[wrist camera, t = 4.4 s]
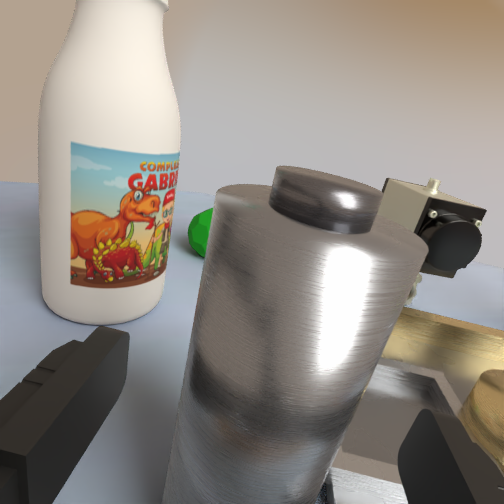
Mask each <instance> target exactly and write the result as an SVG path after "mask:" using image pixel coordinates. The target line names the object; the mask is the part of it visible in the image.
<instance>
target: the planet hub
mask: <svg viewBox="0 0 504 504" xmlns="http://www.w3.org/2000/svg"><path fill="white" fill-rule="evenodd" d="M383 196H384V193H382V192H381V191H379V190H377V189H375V188H373V187H371V186H368V185H365V184H362V183H359V182H356V181H353V180H350V179H347V178H343V177H340V176H336V175H332V174H328V173H324V172H320V171H315V170H310V169H305V168H299V167H292V166H278V167H277V168H276V172H275V176H274V180H273V185H272V186H266V185H253V184H239V185H238V184H237V185H230V186H225V187H222V188H220V189H219V190H218V191H217V192H216V197H215V202H214V208H213V214H212V219H211V225H210V231H209V237H208V242H207V248H206V254H205V259H204V265H203V271H202V276H201V282H200V288H199V294H198V299H197V305H196V311H195V316H194V322H193V328H192V333H191V339H190V345H189V351H188V356H187V362H186V368H185V373H184V379H183V385H182V390H181V396H180V402H179V408H178V413H177V419H176V425H175V430H174V436H173V442H172V447H171V453H170V459H169V465H168V470H167V476H166V482H165V487H164V493H163V499H162V504H314V503H315V501H316V499H317V497H318V494H319V492H320V490H321V488H322V486H323V483H324V481H325V479H326V477H327V474H328V472H329V470H330V468H331V466H332V463H333V461H334V459H335V457H336V455H337V452H338V450H339V448H340V446H341V443H342V441H343V439H344V437H345V435H346V432H347V430H348V428H349V426H350V424H351V421H352V419H353V417H354V415H355V413H356V410H357V408H358V406H359V404H360V401H361V399H362V397H363V395H364V393H365V390H366V388H367V386H368V384H369V382H370V379H371V377H372V375H373V373H374V370H375V368H376V366H377V364H378V362H379V359H380V357H381V355H382V353H383V351H384V348H385V346H386V344H387V342H388V340H389V337H390V335H391V333H392V331H393V328H394V326H395V324H396V322H397V320H398V317H399V315H400V313H401V311H402V309H403V306H404V304H405V302H406V300H407V297H408V295H409V293H410V291H411V289H412V286H413V284H414V282H415V280H416V278H417V275H418V273H419V271H420V269H421V267H422V264H423V262H424V260H425V258H426V255H427V253H428V251H429V250H428V246H427V244H426V243H425V242H424V241H423V240H422V239H421V238H420V237H419V236H417V235H416V234H415V233H413V232H412V231H410V230H409V229H407V228H405V227H403V226H402V225H400V224H398V223H396V222H394V221H392V220H389V219H387V218H385V217H383V216H380V215H378V214H377V212H378V209H379V207H380V204H381V201H382V199H383Z"/></svg>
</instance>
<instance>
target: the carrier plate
mask: <svg viewBox="0 0 504 504" xmlns="http://www.w3.org/2000/svg"><path fill="white" fill-rule="evenodd" d="M422 409H430V410H434V411H438V412H442V413H446V414H450V415H454V416H456V417H457V418H458V419H459V420H460V421H461V423H462V424H463V426H464V428H465V430H466V431H467V433H468V435H469V437H470V438H471V440H472V442H474V443H477V444H478V445H479V446H480V447H481V449H482V450H483V451H484V452H485V453H486V454H487V455H488V456H489V457H490V458H491V459H492V461H493V462H494V463H495V464H496V465H497V467H498V468H499V470H500V472H501V473H502V475H503V477H504V331H502V330H498V329H494V328H489V327H485V326H481V325H477V324H473V323H469V322H465V321H461V320H457V319H453V318H449V317H444V316H440V315H436V314H432V313H428V312H424V311H420V310H416V309H412V308H408V307H403V309H402V311H401V313H400V315H399V317H398V320H397V322H396V324H395V326H394V328H393V331H392V333H391V335H390V337H389V340H388V342H387V344H386V346H385V348H384V351H383V353H382V355H381V357H380V359H379V362H378V364H377V366H376V368H375V370H374V373H373V375H372V377H371V379H370V382H369V384H368V386H367V388H366V390H365V393H364V395H363V397H362V399H361V401H360V404H359V406H358V408H357V410H356V413H355V415H354V417H353V419H352V421H351V424H350V426H349V428H348V430H347V432H346V435H345V437H344V439H343V441H342V443H341V446H340V448H339V450H338V452H337V455H336V457H335V459H334V461H333V463H332V466H331V468H330V470H329V472H328V474H327V477H326V479H325V481H324V483H326V493H327V503H328V504H408V501H407V498H406V495H405V492H404V488H403V485H402V482H401V479H400V475H399V471H398V452H399V448H400V446H401V444H402V442H403V440H404V439H405V437H406V435H407V433H408V431H409V430H410V428H411V426H412V424H413V422H414V421H415V419H416V417H417V415H418V414H419V412H420V411H421V410H422Z"/></svg>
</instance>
